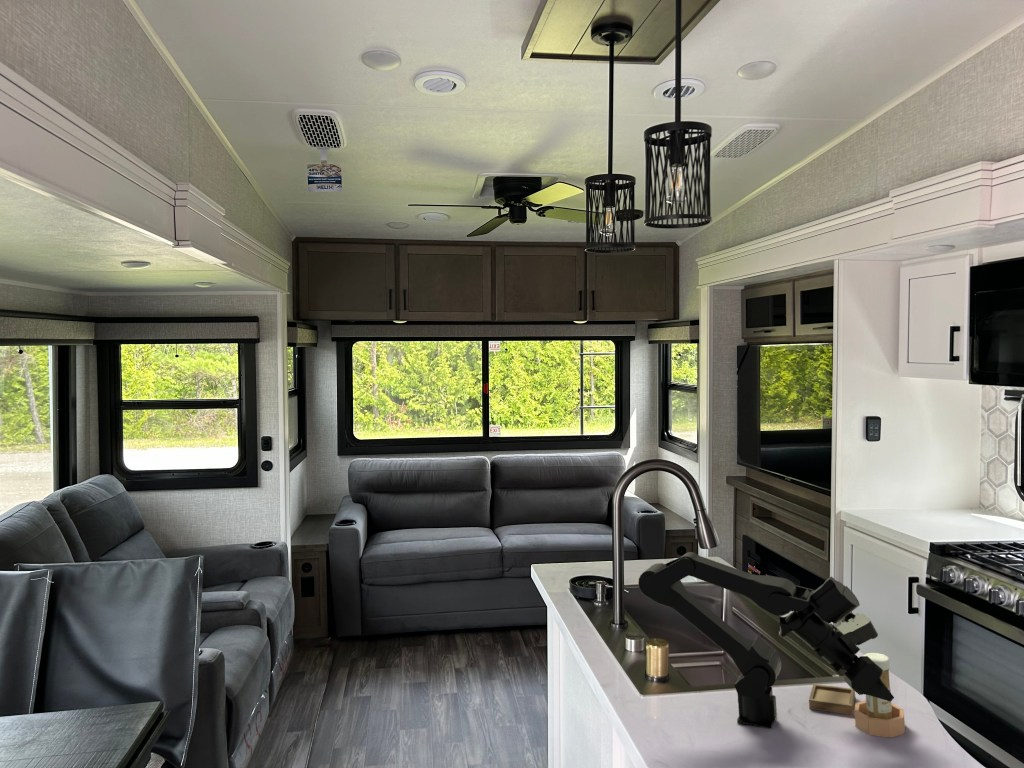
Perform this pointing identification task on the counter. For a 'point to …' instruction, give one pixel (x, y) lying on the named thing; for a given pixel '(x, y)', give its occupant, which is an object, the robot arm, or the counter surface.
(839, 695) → the walnut tray
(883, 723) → the holder ring
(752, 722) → the robot arm
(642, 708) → the counter surface
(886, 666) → the sprinkles bottle
